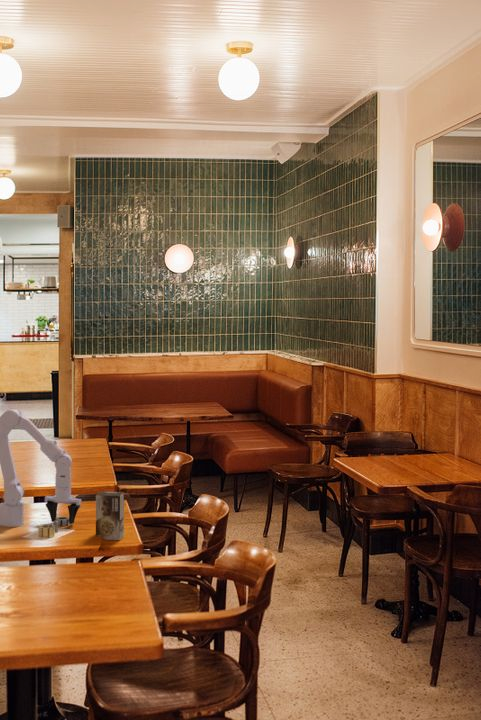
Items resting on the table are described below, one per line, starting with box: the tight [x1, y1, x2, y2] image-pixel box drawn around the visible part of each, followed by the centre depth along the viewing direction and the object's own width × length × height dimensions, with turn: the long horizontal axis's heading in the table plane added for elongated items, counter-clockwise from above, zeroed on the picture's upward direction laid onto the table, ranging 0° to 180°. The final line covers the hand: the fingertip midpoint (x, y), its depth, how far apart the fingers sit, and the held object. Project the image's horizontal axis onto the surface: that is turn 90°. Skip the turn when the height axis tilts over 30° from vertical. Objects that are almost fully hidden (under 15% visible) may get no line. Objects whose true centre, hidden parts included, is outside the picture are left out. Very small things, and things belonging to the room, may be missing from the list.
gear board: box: [22, 521, 76, 542], centre depth 292 cm, size 12×16×5 cm
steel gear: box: [55, 516, 71, 527], centre depth 306 cm, size 6×6×3 cm
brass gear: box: [38, 523, 55, 538], centre depth 289 cm, size 6×6×3 cm
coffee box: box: [95, 490, 125, 541], centre depth 293 cm, size 9×6×16 cm
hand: (62, 522), depth 306 cm, fingers open, 7 cm apart
